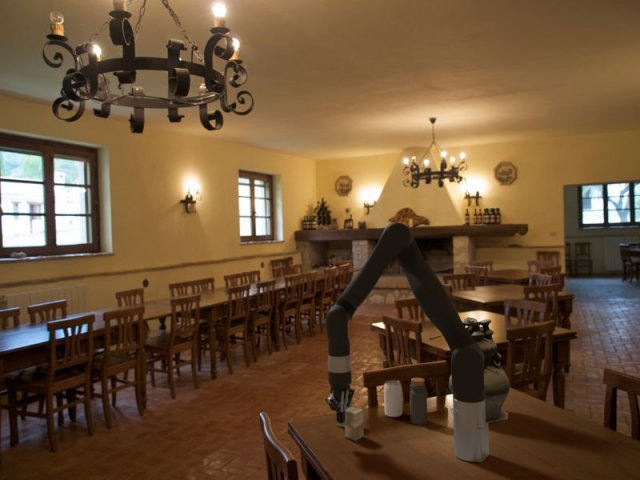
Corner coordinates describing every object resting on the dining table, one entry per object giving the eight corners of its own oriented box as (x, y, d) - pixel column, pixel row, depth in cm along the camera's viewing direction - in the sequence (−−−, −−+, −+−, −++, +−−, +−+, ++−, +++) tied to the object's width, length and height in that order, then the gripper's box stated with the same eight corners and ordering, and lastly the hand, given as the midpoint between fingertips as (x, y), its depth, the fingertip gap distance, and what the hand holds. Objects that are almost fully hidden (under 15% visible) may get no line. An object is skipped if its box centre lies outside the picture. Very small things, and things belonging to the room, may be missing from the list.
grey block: (353, 423, 176) (352, 397, 176) (348, 427, 172) (347, 401, 172) (341, 421, 178) (340, 396, 178) (336, 426, 174) (336, 400, 174)
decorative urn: (439, 412, 186) (433, 319, 186) (483, 401, 194) (478, 312, 194) (477, 431, 166) (470, 327, 166) (525, 418, 175) (519, 319, 174)
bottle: (428, 424, 173) (427, 381, 173) (412, 425, 173) (410, 382, 173) (425, 418, 179) (424, 376, 179) (409, 418, 179) (408, 377, 179)
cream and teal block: (363, 436, 165) (362, 409, 164) (356, 441, 161) (355, 413, 161) (352, 433, 167) (352, 406, 167) (345, 438, 164) (344, 410, 164)
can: (397, 418, 179) (396, 385, 179) (381, 415, 183) (380, 383, 183) (405, 413, 184) (404, 381, 184) (390, 410, 188) (389, 378, 188)
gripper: (336, 375, 151) (338, 432, 151) (361, 365, 161) (362, 418, 161) (317, 371, 156) (318, 426, 156) (342, 362, 166) (343, 413, 166)
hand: (341, 422), depth 159 cm, fingers closed
